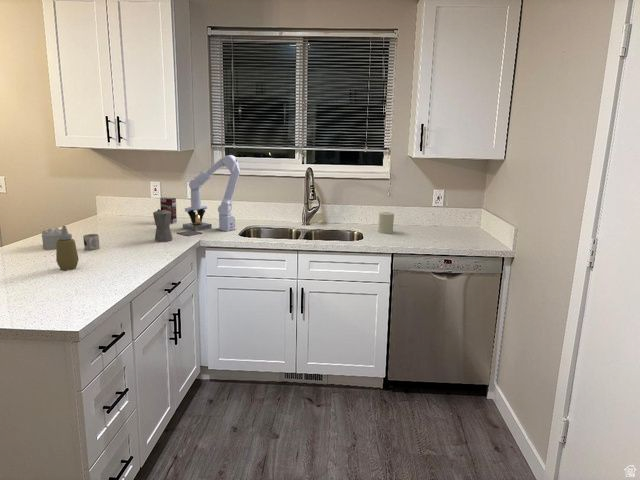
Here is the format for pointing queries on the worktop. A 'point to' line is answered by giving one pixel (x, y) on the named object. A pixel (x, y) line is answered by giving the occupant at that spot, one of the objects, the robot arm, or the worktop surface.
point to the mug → (91, 242)
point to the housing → (197, 226)
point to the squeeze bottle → (66, 251)
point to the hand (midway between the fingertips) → (196, 222)
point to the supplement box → (169, 207)
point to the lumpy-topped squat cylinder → (50, 238)
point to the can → (386, 222)
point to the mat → (189, 233)
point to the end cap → (197, 219)
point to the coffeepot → (162, 225)
